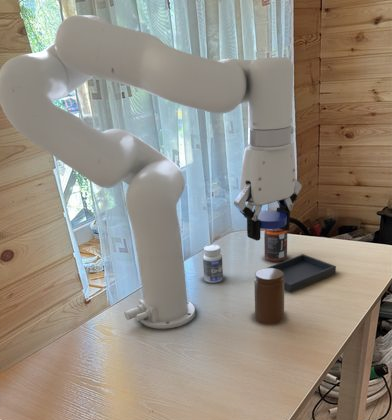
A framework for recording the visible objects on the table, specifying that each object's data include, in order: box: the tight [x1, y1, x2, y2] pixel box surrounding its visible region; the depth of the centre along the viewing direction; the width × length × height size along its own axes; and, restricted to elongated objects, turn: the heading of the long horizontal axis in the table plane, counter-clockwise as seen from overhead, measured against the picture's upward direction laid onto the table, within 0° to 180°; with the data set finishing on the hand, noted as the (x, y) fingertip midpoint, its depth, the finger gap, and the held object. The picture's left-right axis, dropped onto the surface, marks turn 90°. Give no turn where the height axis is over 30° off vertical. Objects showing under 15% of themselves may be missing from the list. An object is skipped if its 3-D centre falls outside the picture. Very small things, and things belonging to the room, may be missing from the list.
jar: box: [253, 267, 286, 325], centre depth 108 cm, size 6×6×10 cm
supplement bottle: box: [263, 228, 288, 263], centre depth 134 cm, size 6×6×11 cm
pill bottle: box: [202, 244, 224, 284], centre depth 127 cm, size 5×5×8 cm
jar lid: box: [258, 209, 287, 230], centre depth 99 cm, size 7×7×2 cm
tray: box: [264, 253, 337, 293], centre depth 127 cm, size 15×11×2 cm
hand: (268, 233), depth 101 cm, fingers closed on jar lid, 6 cm apart
